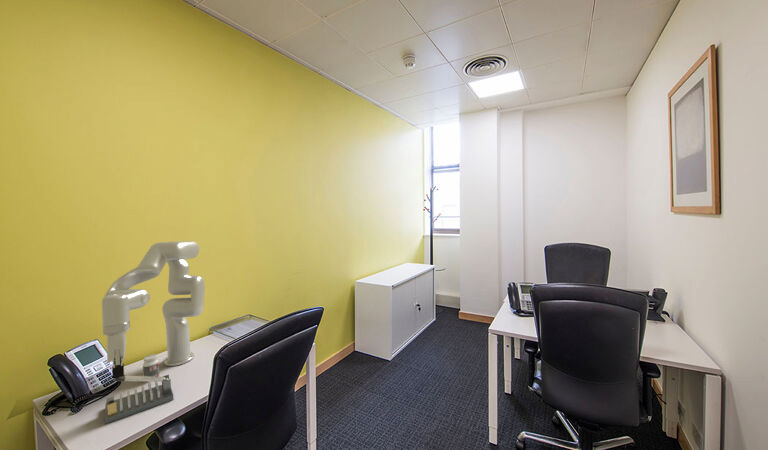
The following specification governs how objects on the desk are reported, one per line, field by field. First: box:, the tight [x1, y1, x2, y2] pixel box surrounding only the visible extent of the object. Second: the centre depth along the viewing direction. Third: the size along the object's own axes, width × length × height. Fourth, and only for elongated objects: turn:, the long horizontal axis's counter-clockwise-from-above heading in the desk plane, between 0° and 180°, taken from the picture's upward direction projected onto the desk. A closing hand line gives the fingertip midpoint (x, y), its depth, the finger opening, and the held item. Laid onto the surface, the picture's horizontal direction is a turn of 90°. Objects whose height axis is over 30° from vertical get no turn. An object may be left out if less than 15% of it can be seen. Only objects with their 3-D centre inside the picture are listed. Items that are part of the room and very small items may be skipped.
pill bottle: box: [142, 353, 160, 377], centre depth 135 cm, size 6×6×10 cm
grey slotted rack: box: [104, 374, 174, 425], centre depth 117 cm, size 12×20×7 cm, turn 132°
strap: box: [113, 374, 168, 383], centre depth 118 cm, size 18×4×1 cm, turn 133°
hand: (118, 376), depth 112 cm, fingers closed
